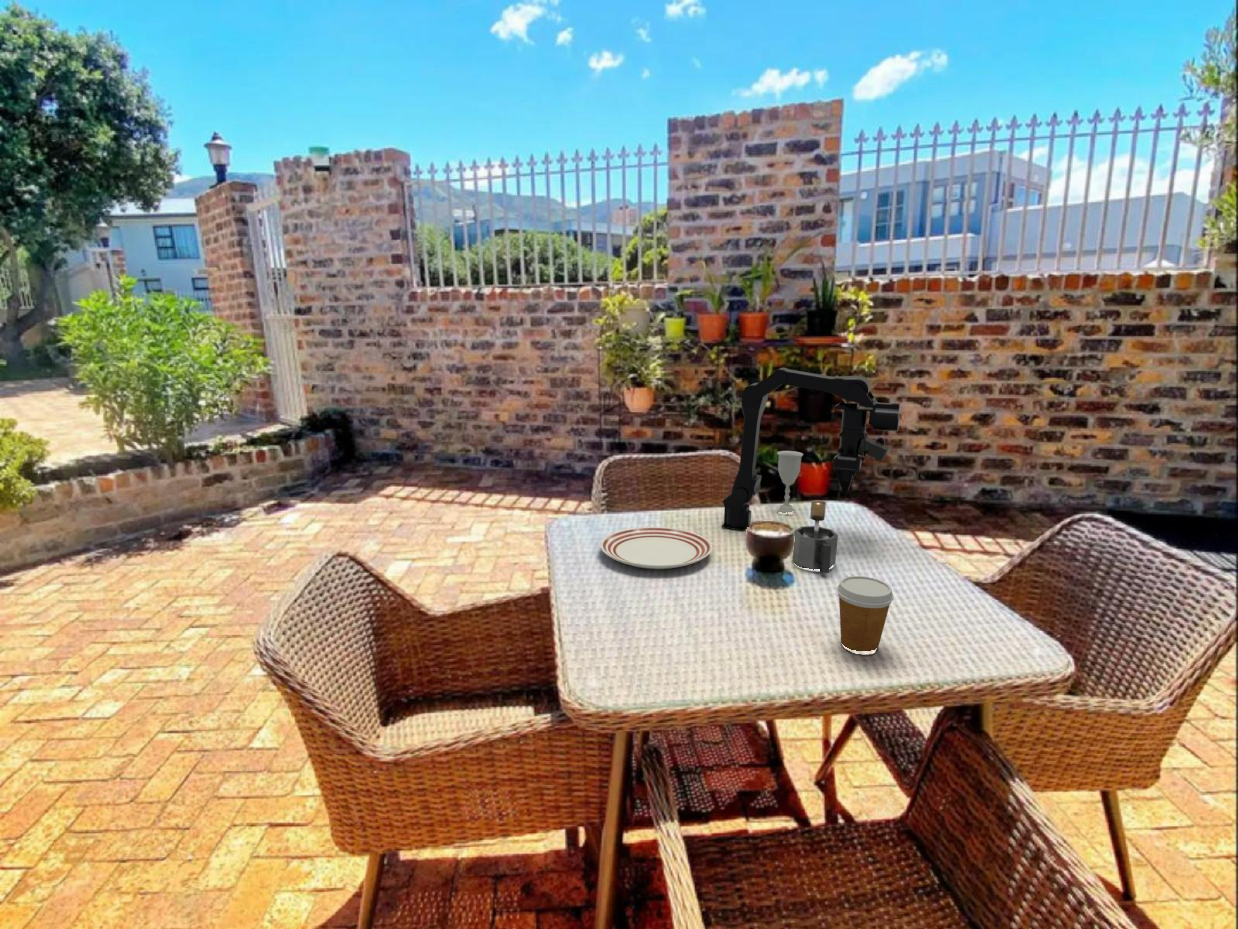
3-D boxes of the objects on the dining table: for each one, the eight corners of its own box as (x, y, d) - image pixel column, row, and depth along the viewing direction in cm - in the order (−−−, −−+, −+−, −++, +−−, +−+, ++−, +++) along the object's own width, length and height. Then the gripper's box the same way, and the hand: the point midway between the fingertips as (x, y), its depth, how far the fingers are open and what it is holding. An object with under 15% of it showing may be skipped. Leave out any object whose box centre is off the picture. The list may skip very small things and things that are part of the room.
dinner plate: (599, 536, 172) (599, 524, 171) (701, 535, 173) (702, 523, 172) (601, 579, 146) (601, 566, 145) (721, 578, 147) (722, 564, 146)
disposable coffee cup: (843, 628, 124) (848, 570, 121) (894, 645, 118) (901, 584, 115) (823, 648, 117) (828, 587, 114) (877, 667, 111) (884, 603, 108)
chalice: (772, 515, 189) (776, 455, 184) (774, 508, 195) (777, 450, 191) (798, 517, 187) (802, 457, 182) (799, 510, 193) (803, 451, 189)
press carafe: (788, 557, 158) (790, 526, 156) (824, 556, 158) (827, 525, 156) (805, 577, 146) (808, 544, 144) (844, 576, 147) (847, 543, 145)
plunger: (797, 548, 151) (800, 504, 148) (802, 539, 157) (806, 496, 154) (827, 553, 148) (831, 508, 145) (832, 543, 154) (835, 500, 151)
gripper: (885, 437, 149) (878, 502, 152) (891, 424, 165) (884, 483, 169) (835, 433, 153) (829, 496, 157) (845, 420, 170) (840, 478, 173)
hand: (847, 488), depth 164 cm, fingers open, 9 cm apart
